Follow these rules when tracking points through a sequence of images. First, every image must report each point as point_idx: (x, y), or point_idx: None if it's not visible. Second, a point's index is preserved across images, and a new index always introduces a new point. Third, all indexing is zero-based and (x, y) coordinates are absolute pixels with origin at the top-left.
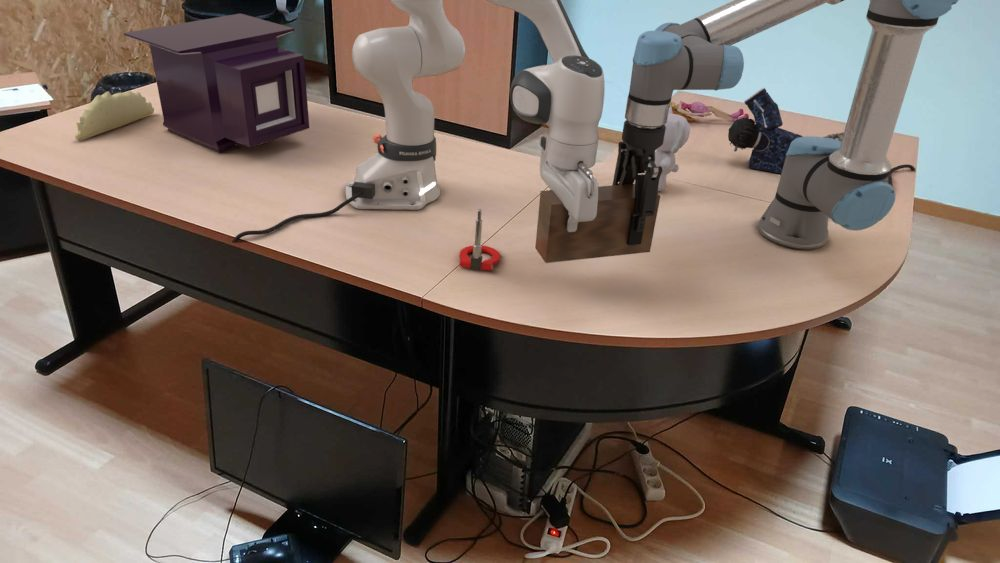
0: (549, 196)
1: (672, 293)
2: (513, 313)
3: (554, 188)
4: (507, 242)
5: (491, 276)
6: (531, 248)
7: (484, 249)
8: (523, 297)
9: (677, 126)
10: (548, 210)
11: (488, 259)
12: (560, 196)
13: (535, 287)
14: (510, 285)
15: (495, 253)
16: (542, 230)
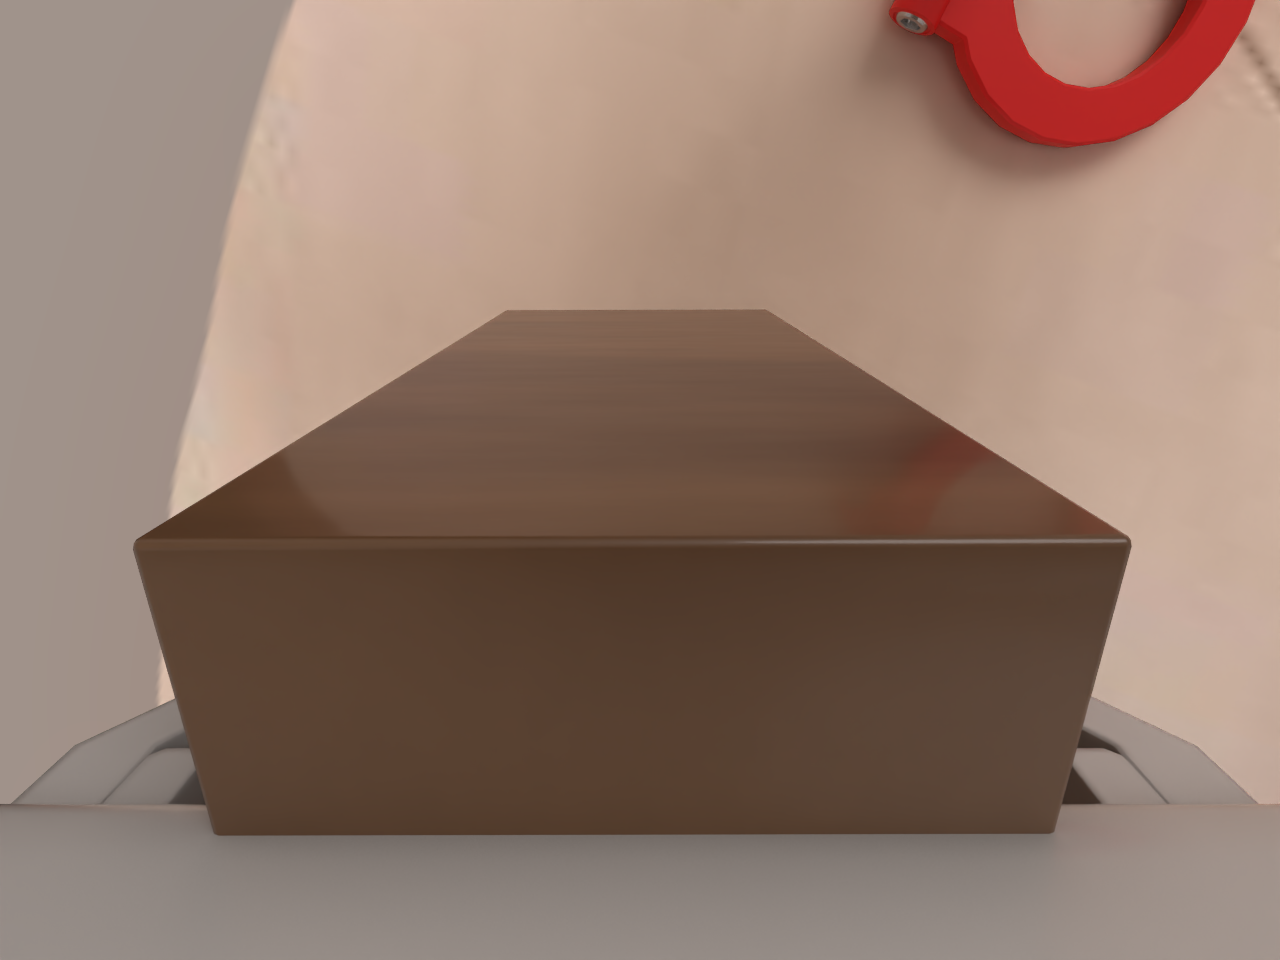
0: (692, 659)
1: None
2: (374, 25)
3: (931, 952)
4: (1212, 273)
5: (838, 8)
6: (1075, 403)
7: (1173, 43)
8: (546, 159)
9: None
10: (411, 452)
11: (1014, 19)
12: (387, 932)
13: (642, 276)
14: (697, 115)
15: (1078, 109)
16: (639, 347)
